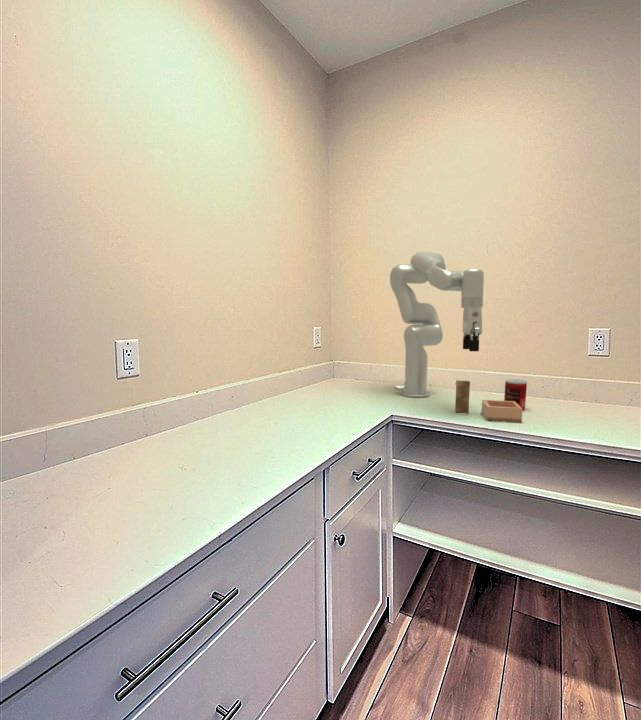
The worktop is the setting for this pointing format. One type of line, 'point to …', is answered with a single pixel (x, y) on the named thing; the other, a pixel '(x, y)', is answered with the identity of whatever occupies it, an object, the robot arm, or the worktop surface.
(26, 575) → the worktop surface
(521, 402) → the canned food
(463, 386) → the tan brown block
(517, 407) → the wooden tray
